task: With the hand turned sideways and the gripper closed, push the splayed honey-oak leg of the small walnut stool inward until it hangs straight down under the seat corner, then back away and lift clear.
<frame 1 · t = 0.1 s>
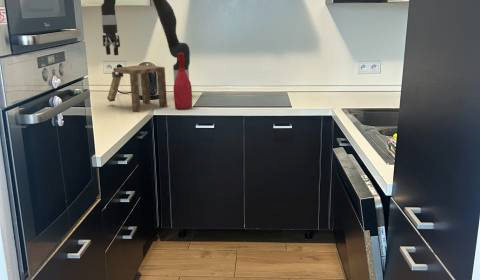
hand: (112, 54, 258), 29 cm above the countertop, tool pointing down, fingers open, 8 cm apart
red bottle: (183, 108, 263), on the countertop
oak leg: (114, 87, 269), point 11 cm above the countertop, hinge at 35.0°
walnut stool: (141, 107, 268), on the countertop
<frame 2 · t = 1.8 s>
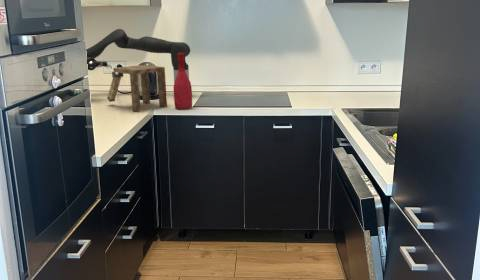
hand: (101, 65, 276), 22 cm above the countertop, tool horizontal, fingers open, 6 cm apart
nothing on the countertop moved.
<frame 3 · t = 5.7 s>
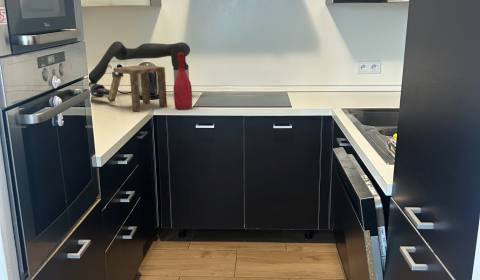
hand: (110, 93, 273), 7 cm above the countertop, tool horizontal, fingers closed
oak leg: (114, 87, 269), point 11 cm above the countertop, hinge at 34.0°, touching gripper
everything else where it was.
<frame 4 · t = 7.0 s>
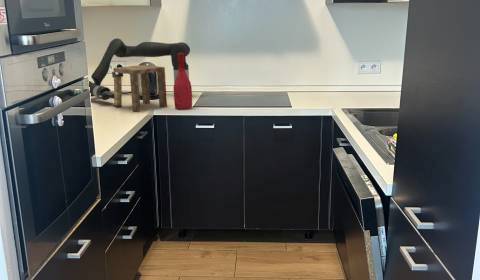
hand: (116, 97, 269), 5 cm above the countertop, tool horizontal, fingers closed
oak leg: (117, 90, 267), point 9 cm above the countertop, hinge at 9.2°, touching gripper
everything else where it was.
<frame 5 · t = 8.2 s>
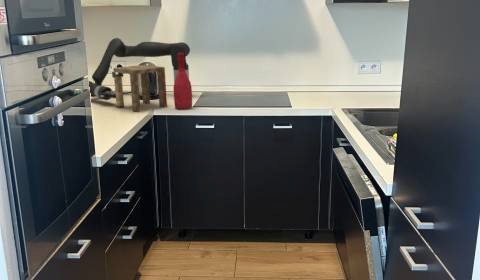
hand: (118, 96, 268), 6 cm above the countertop, tool horizontal, fingers closed
oak leg: (119, 90, 266), point 9 cm above the countertop, hinge at 0.3°, touching gripper
everything else where it was.
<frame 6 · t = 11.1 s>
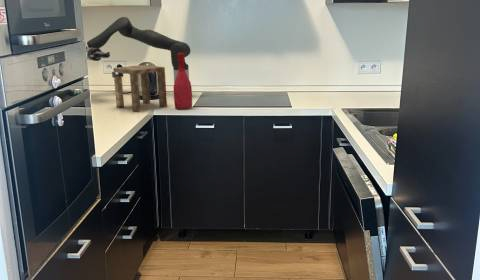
hand: (107, 55, 273), 28 cm above the countertop, tool horizontal, fingers closed
oak leg: (119, 90, 266), point 9 cm above the countertop, hinge at 0.3°
everything else where it was.
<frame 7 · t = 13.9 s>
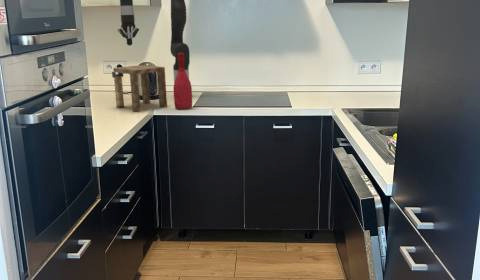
hand: (129, 45, 276), 33 cm above the countertop, tool pointing down, fingers closed
nothing on the countertop moved.
at the end: oak leg at +0° (first picture: +35°); red bottle moved 0.2 cm from its start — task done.
